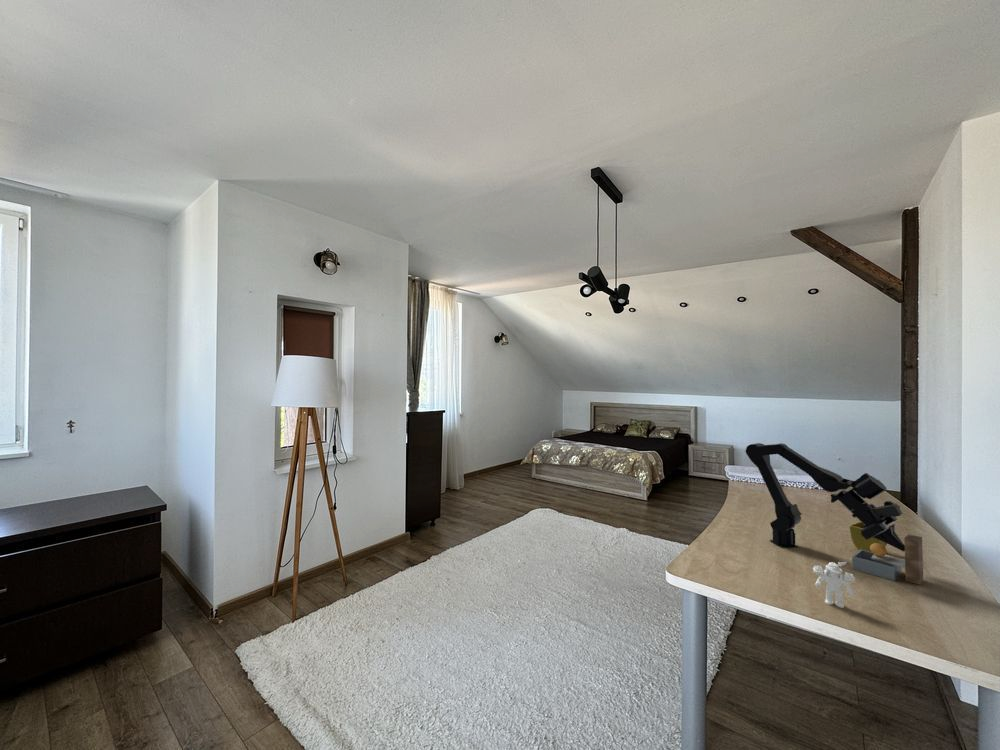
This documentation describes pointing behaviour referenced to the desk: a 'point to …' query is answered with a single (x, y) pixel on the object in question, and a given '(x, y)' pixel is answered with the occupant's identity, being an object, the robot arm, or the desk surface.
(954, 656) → the desk surface
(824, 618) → the desk surface
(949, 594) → the desk surface
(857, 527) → the flower pot
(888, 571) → the shallow blue-grey tray
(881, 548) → the ball
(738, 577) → the desk surface
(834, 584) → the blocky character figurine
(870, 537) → the robot arm
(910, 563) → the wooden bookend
